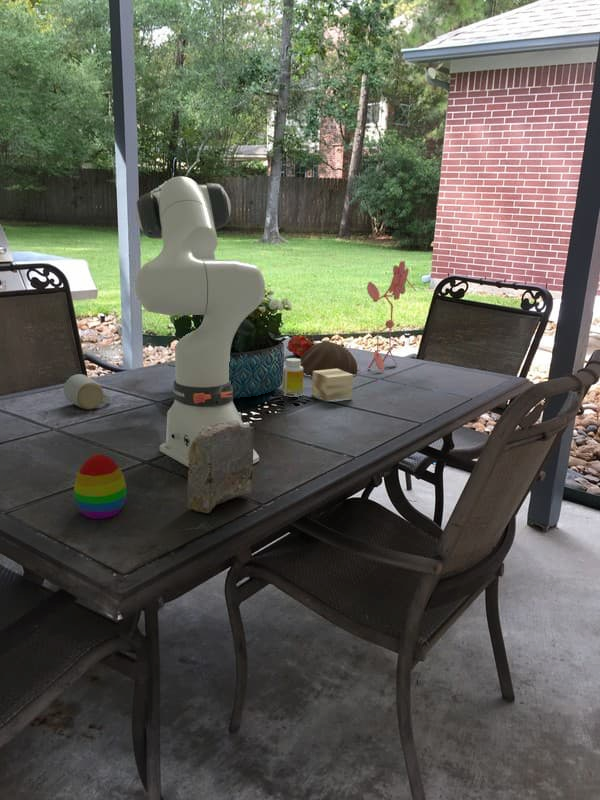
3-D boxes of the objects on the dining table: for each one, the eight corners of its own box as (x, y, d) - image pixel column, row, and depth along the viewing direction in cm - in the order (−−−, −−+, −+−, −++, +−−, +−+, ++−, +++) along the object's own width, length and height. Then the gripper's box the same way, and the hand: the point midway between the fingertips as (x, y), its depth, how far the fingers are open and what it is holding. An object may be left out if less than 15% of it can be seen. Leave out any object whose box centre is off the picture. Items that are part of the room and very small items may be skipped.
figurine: (353, 372, 209) (362, 260, 199) (389, 360, 230) (399, 257, 220) (397, 382, 201) (409, 265, 192) (430, 368, 222) (443, 262, 213)
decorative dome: (283, 371, 211) (284, 340, 208) (327, 363, 224) (328, 333, 221) (326, 383, 198) (328, 350, 195) (370, 374, 211) (372, 343, 208)
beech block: (352, 399, 180) (353, 374, 178) (327, 403, 176) (328, 377, 174) (336, 392, 187) (337, 368, 185) (311, 395, 183) (312, 371, 181)
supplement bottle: (306, 396, 182) (308, 360, 179) (290, 399, 178) (291, 362, 175) (293, 392, 186) (295, 356, 183) (278, 395, 182) (279, 358, 179)
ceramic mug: (78, 413, 161) (77, 382, 159) (63, 405, 166) (62, 375, 164) (118, 406, 168) (117, 376, 166) (102, 399, 173) (102, 370, 171)
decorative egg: (133, 503, 113) (131, 447, 110) (117, 524, 105) (114, 465, 102) (86, 500, 113) (83, 445, 111) (67, 521, 106) (63, 463, 103)
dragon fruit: (286, 358, 236) (315, 367, 230) (278, 347, 228) (307, 357, 223) (297, 337, 237) (325, 346, 232) (289, 326, 230) (318, 335, 225)
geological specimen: (231, 490, 119) (231, 411, 115) (256, 500, 116) (257, 418, 112) (186, 509, 111) (185, 424, 107) (211, 520, 108) (211, 433, 103)
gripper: (224, 366, 175) (273, 372, 171) (256, 352, 194) (300, 357, 189) (224, 389, 177) (272, 396, 172) (255, 373, 195) (299, 379, 191)
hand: (287, 375), depth 181 cm, fingers open, 8 cm apart
